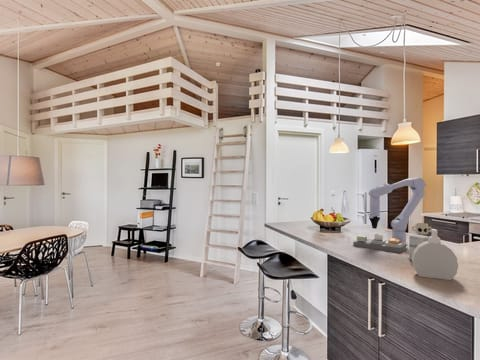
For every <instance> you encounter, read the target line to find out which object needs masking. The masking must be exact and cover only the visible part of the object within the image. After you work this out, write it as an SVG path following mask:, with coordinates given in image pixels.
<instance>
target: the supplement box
mask: <svg viewBox="0 0 480 360" xmlns="http://www.w3.org/2000/svg"><path fill="white" fill-rule="evenodd" d="M408 236H409V241H408V250H409V251H408V260H410V261H412V255H413V251H414V250H415V248H416V247H417V246H418V245H419V244H421V243H423V242H425V241H428V238H429V237H430V236H428V235H426V236H424V235H419V234H418V233H416V234H409V235H408Z"/></svg>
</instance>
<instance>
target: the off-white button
mask: <svg viewBox="0 0 480 360" xmlns="http://www.w3.org/2000/svg"><path fill="white" fill-rule="evenodd" d="M383 237H384V236H383V234H381V233H374V239H375V240H384V239H383Z"/></svg>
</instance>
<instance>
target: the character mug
mask: <svg viewBox="0 0 480 360" xmlns="http://www.w3.org/2000/svg"><path fill="white" fill-rule="evenodd" d="M432 229H433V228H432V227H431V226H429V223H426V222H425V223H424V222H416V223H415V225H412V226H411V230H412V231H413V232H415V233H416V234H419V235H424V236H427V235H428V234H429V233H432Z"/></svg>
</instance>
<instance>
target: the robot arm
mask: <svg viewBox="0 0 480 360" xmlns="http://www.w3.org/2000/svg"><path fill="white" fill-rule="evenodd" d="M426 185H427V184H426V182H425V180H424V179H423V178H421V177H411V178H406V179H403V180H400V181H398V182H395V183H392V184H389V183H384V184H382V185H380V186H378V185H377V186H376V187H375V188H374V187H373V188H370V190H369V191H368V195H369V213H367V215H368V219H369V220H370V223H371V228H372V229H378V224H379V221H380V219H381V217H380V216H381V213H380V210H381V209H380V204H381V200H380V197H382V196H384V195H387V194H390V193H392V192H393V190H397V189H399V188H402V187H409V188H410V189H411V191H412V193H413V194H412V196H410V199H409V200H408V202H406V203H407V204H406V205H405V207H403V209H402V211H401V212H400V214H398V215H397V216H396V217H395V218H394V219H392V221H391V222H390V226H391V228H392V229H391V232H392V233H391V239H392V238H398V239H402V241H405V244H406V246H407V245H408V243H407V233H406V230H407V227H408V224H409V218H410V217H411V216H412V215H413V212H415V210H416V208H417V207H418V205H419V204H420V202H421V201H422V199H423V197H424V196H425V187H426Z"/></svg>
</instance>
